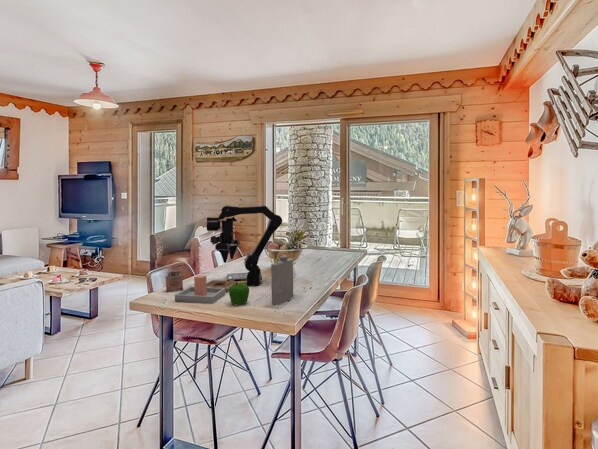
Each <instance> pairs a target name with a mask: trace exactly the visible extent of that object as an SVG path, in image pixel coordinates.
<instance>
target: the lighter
mask: <svg viewBox="0 0 598 449" xmlns="http://www.w3.org/2000/svg"><path fill="white" fill-rule="evenodd" d="M181 273H182V270H180V269H179V270H178V269H177V270H171V271H168V272H167V275H166V276H165V287H166V288H165V289H166V290H165V292H166V293H175V292H177V293H178V292H181V291H183V290H184V286H183V285H184V284H183V282H184V281H183V277H184V275H183V274H181Z"/></svg>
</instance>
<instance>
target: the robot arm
mask: <svg viewBox="0 0 598 449" xmlns="http://www.w3.org/2000/svg"><path fill="white" fill-rule="evenodd" d="M220 211H221V212H220V213H219V214H218V216H217V217H210V216H209V217H208V216H207V217H206V231H207V232H214V231H215V232H216V231H217V232H218V231H219V230H220V229H221V232H220V233H219V236H216V235H212V236H211V237H210V241H209V242H210V243H211V244H212V245H213V246H214V247H215V250H216V251H217V252H219V253H220V255H221V258H222V262H223V263H227V262H228V258H229V257H230V259H231V260H234V257H235V255H236V252H237V250H238V247H239V245H240V243H241V240H240V239H239V238H234V237H235V236H234V235H235V233H236V232H235V231H234V222H237V221H238V219H237V218H235V217H236V216H240V215H249V214H250V215H251V214H263V215H264V216H265V217H266V218H267V219H269V220H268V223H267V226H266V229H265V231H264V232H263V233H262V236H261V237H260V239H259V240H258V243H257V244H256V245H255V247H254V249H253V251H252V252H251V253H247V254H246V257H245V258H244V259H243V260H244V267H245V269H246V270H247V271H248V272H247V275H246V283H247V284H246V285H248V286H255V287H256V286H260V285H261V284H262V283H263V281H262V272H261V271H262V270H261V269H260V266H259V265H258V263H259V260H260V257H261V254H263V253H262V252H263V251H264V250H265V248H266V246H267V244H268V243H269V241H270V239H271V237H272V235H273V234H274V232H276V231H277V230H278V228H280V226H281V225H282V223H283V218H282V216H281V215H280V214H279V215H278V214H275V213H274V212H273V211H272V210H271V209H270V208H268V206H266V205H264V204H263V205H254V206H235V205H228V204H227V205H224V206H222V208H221V210H220ZM225 218H226V219H225Z"/></svg>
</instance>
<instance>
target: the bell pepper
mask: <svg viewBox="0 0 598 449" xmlns="http://www.w3.org/2000/svg"><path fill="white" fill-rule="evenodd" d="M245 283H246V282H245V281H242V280H241V281H238V285H236V284H234V285H232V287H230V288H229V292H228V294H229V295H228V296H229V299H230V302H231V303H232V305H234V306H235V305H236V306H239V305H246V304H247V302H248V299H249V295H250V287H249V285H247V284H245Z"/></svg>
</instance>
